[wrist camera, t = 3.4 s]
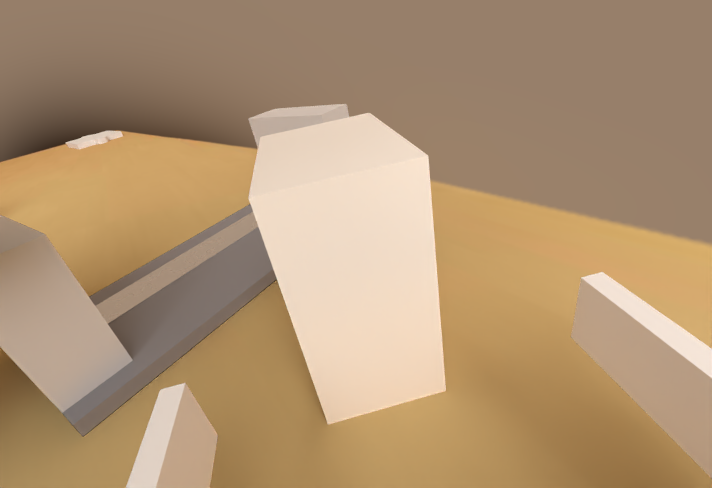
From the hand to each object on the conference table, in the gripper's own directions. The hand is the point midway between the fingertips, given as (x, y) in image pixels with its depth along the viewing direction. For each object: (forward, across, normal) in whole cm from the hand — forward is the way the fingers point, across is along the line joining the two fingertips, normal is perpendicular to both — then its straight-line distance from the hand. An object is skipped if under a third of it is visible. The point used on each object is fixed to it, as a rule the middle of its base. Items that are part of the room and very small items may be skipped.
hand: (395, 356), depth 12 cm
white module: (+7, 0, -6) cm, 10 cm away
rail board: (+21, -10, -6) cm, 25 cm away
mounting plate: (+124, -67, -7) cm, 141 cm away
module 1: (+12, -20, -5) cm, 24 cm away
